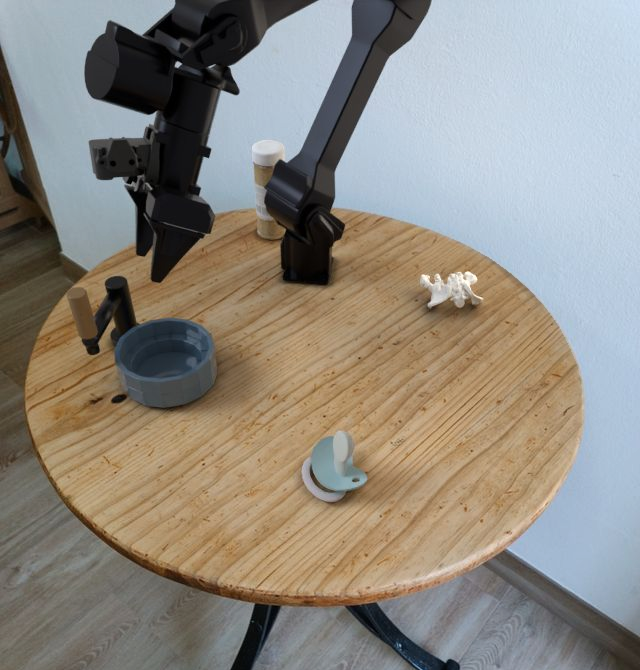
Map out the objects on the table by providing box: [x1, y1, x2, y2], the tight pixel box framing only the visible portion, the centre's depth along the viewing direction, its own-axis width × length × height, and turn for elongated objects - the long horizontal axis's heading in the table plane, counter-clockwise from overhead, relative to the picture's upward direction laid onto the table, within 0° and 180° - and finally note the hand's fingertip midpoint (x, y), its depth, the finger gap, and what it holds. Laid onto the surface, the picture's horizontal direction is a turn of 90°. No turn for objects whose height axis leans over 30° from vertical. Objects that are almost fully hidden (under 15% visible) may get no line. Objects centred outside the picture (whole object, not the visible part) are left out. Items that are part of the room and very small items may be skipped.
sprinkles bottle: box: [251, 139, 286, 241], centre depth 99 cm, size 5×5×13 cm
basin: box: [113, 317, 218, 409], centre depth 80 cm, size 11×11×4 cm
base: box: [109, 322, 141, 348], centre depth 86 cm, size 4×4×1 cm
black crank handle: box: [66, 275, 138, 356], centre depth 78 cm, size 11×3×12 cm, turn 172°
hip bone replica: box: [419, 271, 484, 309], centre depth 92 cm, size 8×4×7 cm
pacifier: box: [301, 430, 368, 503], centre depth 70 cm, size 7×6×6 cm
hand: (147, 268), depth 78 cm, fingers open, 9 cm apart
